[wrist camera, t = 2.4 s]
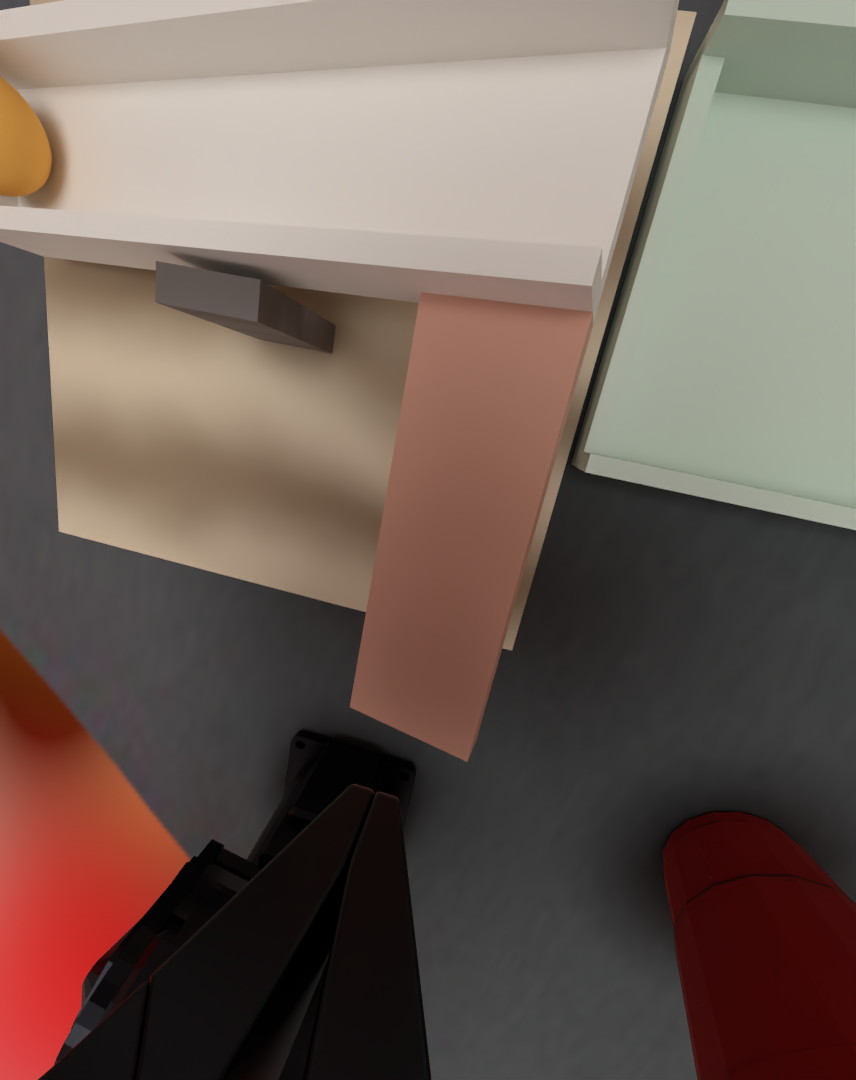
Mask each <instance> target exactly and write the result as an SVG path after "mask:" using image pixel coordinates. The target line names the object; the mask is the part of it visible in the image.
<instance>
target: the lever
mask: <svg viewBox="0 0 856 1080" xmlns="http://www.w3.org/2000/svg"><path fill="white" fill-rule="evenodd" d="M678 5H679V0H62V1H56V2H50V3H44V4H37V5H31V6H25V7H19V8H12V9H6V10H0V76H1V77H2V78H3V79H4V80H6V81H7V82H8V83H9V84H10V85H11V86H12V87H13V88H14V89H16V90H17V91H18V92H19V94H20V95H21V96H22V97H23V98H24V99H25V100H26V102H27V103H28V104H29V105H30V107H31V108H32V109H33V111H34V112H35V114H36V115H37V117H38V119H39V120H40V122H41V124H42V126H43V128H44V130H45V132H46V135H47V137H48V141H49V144H50V148H51V154H52V166H51V172H50V175H49V177H48V179H47V181H46V182H45V184H44V185H43V186H42V187H41V188H40V189H39V190H37V191H36V192H33V193H31V194H29V195H24V196H3V195H0V242H3V243H6V244H9V245H11V246H14V247H17V248H20V249H23V250H26V251H29V252H32V253H35V254H38V255H41V256H44V257H51V258H59V259H67V260H75V261H83V262H91V263H100V264H108V265H116V266H124V267H132V268H140V269H148V270H156V261H160V262H165V263H171V264H176V265H182V266H187V267H193V268H198V269H204V270H209V271H215V272H220V273H226V274H231V275H237V276H243V277H248V278H254V279H259V280H262V281H263V282H265V283H267V284H270V285H278V286H286V287H294V288H302V289H310V290H319V291H327V292H335V293H343V294H351V295H359V296H367V297H375V298H383V299H392V300H400V301H408V302H416V303H419V307H418V312H417V318H416V324H415V330H414V336H413V342H412V347H411V353H410V359H409V365H408V371H407V376H406V382H405V388H404V394H403V400H402V406H401V411H400V417H399V423H398V429H397V435H396V441H395V446H394V452H393V458H392V464H391V470H390V476H389V481H388V487H387V493H386V499H385V505H384V510H383V516H382V522H381V528H380V534H379V540H378V545H377V551H376V557H375V563H374V569H373V575H372V580H371V586H370V592H369V598H368V604H367V609H366V615H365V621H364V627H363V633H362V639H361V644H360V650H359V656H358V662H357V668H356V674H355V679H354V685H353V691H352V697H351V703H350V707H351V708H353V709H355V710H357V711H359V712H361V713H363V714H366V715H368V716H370V717H372V718H374V719H376V720H378V721H381V722H383V723H385V724H387V725H389V726H391V727H393V728H396V729H398V730H400V731H402V732H404V733H406V734H408V735H411V736H413V737H415V738H417V739H419V740H421V741H423V742H426V743H428V744H430V745H432V746H434V747H436V748H438V749H441V750H443V751H445V752H447V753H449V754H451V755H453V756H456V757H458V758H460V759H462V760H464V761H466V762H468V759H469V757H470V754H471V752H472V750H473V747H474V745H475V742H476V740H477V736H478V733H479V729H480V725H481V722H482V718H483V715H484V711H485V708H486V704H487V701H488V697H489V693H490V690H491V686H492V683H493V679H494V676H495V672H496V669H497V665H498V661H499V658H500V654H501V651H502V647H503V644H504V640H505V637H506V633H507V629H508V626H509V622H510V619H511V615H512V612H513V608H514V605H515V601H516V597H517V594H518V590H519V587H520V583H521V580H522V576H523V573H524V569H525V565H526V562H527V558H528V555H529V551H530V548H531V544H532V541H533V537H534V533H535V530H536V526H537V523H538V519H539V516H540V512H541V509H542V505H543V501H544V498H545V494H546V491H547V487H548V484H549V480H550V477H551V473H552V469H553V466H554V462H555V459H556V455H557V452H558V448H559V445H560V441H561V437H562V434H563V430H564V427H565V423H566V420H567V416H568V413H569V409H570V405H571V402H572V398H573V395H574V391H575V388H576V384H577V381H578V377H579V373H580V370H581V366H582V363H583V359H584V356H585V352H586V349H587V345H588V341H589V338H590V334H591V331H592V327H593V324H594V320H595V317H596V313H597V309H598V306H599V302H600V299H601V295H602V292H603V288H604V285H605V281H606V277H607V274H608V270H609V267H610V263H611V260H612V256H613V253H614V249H615V245H616V242H617V238H618V235H619V231H620V228H621V224H622V221H623V217H624V213H625V210H626V206H627V203H628V199H629V196H630V192H631V189H632V185H633V181H634V178H635V174H636V171H637V167H638V164H639V160H640V157H641V153H642V149H643V146H644V142H645V139H646V135H647V132H648V128H649V125H650V121H651V117H652V114H653V110H654V107H655V103H656V100H657V96H658V93H659V89H660V85H661V82H662V78H663V75H664V71H665V68H666V64H667V61H668V57H669V53H670V49H671V43H672V38H673V32H674V27H675V21H676V16H677V10H678Z"/></svg>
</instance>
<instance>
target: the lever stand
mask: <svg viewBox="0 0 856 1080" xmlns="http://www.w3.org/2000/svg"><path fill="white" fill-rule="evenodd" d="M56 1H62V0H30V6H31V5H37V4H44V3H50V2H56ZM696 13H697V12H690V11H680V10H677V16H676V21H675V27H674V32H673V38H672V43H671V49H670V53H669V57H668V61H667V64H666V68H665V71H664V75H663V78H662V82H661V85H660V89H659V93H658V96H657V100H656V103H655V107H654V110H653V114H652V117H651V121H650V125H649V128H648V132H647V135H646V139H645V142H644V146H643V149H642V153H641V157H640V160H639V164H638V167H637V171H636V174H635V178H634V181H633V185H632V189H631V192H630V196H629V199H628V203H627V206H626V210H625V213H624V217H623V221H622V224H621V228H620V231H619V235H618V238H617V242H616V245H615V249H614V253H613V256H612V260H611V263H610V267H609V270H608V274H607V277H606V281H605V285H604V288H603V292H602V295H601V299H600V302H599V306H598V309H597V313H596V317H595V320H594V324H593V327H592V331H591V334H590V338H589V341H588V345H587V349H586V352H585V356H584V359H583V363H582V366H581V370H580V373H579V377H578V381H577V384H576V388H575V391H574V395H573V398H572V402H571V405H570V409H569V413H568V416H567V420H566V423H565V427H564V430H563V434H562V437H561V441H560V445H559V448H558V452H557V455H556V459H555V462H554V466H553V469H552V473H551V477H550V480H549V484H548V487H547V491H546V494H545V498H544V501H543V505H542V509H541V512H540V516H539V519H538V523H537V526H536V530H535V533H534V537H533V541H532V544H531V548H530V551H529V555H528V558H527V562H526V565H525V569H524V573H523V576H522V580H521V583H520V587H519V590H518V594H517V597H516V601H515V605H514V608H513V612H512V615H511V619H510V622H509V626H508V629H507V633H506V637H505V640H504V644H503V647H502V648H503V649H507V650H511V651H512V649H513V646H514V642H515V639H516V635H517V632H518V628H519V625H520V621H521V618H522V614H523V611H524V608H525V604H526V601H527V597H528V594H529V590H530V587H531V583H532V580H533V576H534V573H535V569H536V566H537V563H538V559H539V556H540V552H541V549H542V545H543V542H544V538H545V535H546V531H547V528H548V525H549V521H550V518H551V514H552V511H553V507H554V504H555V500H556V497H557V493H558V490H559V487H560V483H561V480H562V476H563V473H564V469H565V466H566V462H567V459H568V455H569V452H570V449H571V445H572V442H573V438H574V435H575V431H576V428H577V424H578V421H579V417H580V414H581V411H582V407H583V404H584V400H585V397H586V393H587V390H588V386H589V383H590V379H591V376H592V373H593V369H594V366H595V362H596V359H597V355H598V352H599V348H600V345H601V341H602V338H603V334H604V331H605V328H606V324H607V321H608V317H609V314H610V310H611V307H612V303H613V300H614V296H615V293H616V290H617V286H618V283H619V279H620V276H621V272H622V269H623V265H624V262H625V258H626V255H627V252H628V248H629V245H630V241H631V238H632V234H633V231H634V227H635V224H636V220H637V217H638V214H639V210H640V207H641V203H642V200H643V196H644V193H645V189H646V186H647V182H648V179H649V176H650V172H651V169H652V165H653V162H654V158H655V155H656V151H657V148H658V144H659V141H660V138H661V134H662V131H663V127H664V124H665V120H666V117H667V113H668V110H669V106H670V103H671V99H672V96H673V93H674V89H675V86H676V82H677V79H678V75H679V72H680V68H681V65H682V61H683V58H684V55H685V51H686V48H687V44H688V41H689V37H690V34H691V30H692V27H693V23H694V20H695V17H696ZM44 266H45V284H46V302H47V321H48V339H49V357H50V375H51V393H52V412H53V430H54V448H55V466H56V484H57V502H58V521H59V532H63V533H67V534H71V535H74V536H78V537H82V538H86V539H90V540H93V541H97V542H101V543H105V544H108V545H112V546H116V547H120V548H124V549H127V550H131V551H135V552H139V553H143V554H146V555H150V556H154V557H158V558H162V559H165V560H169V561H173V562H177V563H181V564H184V565H188V566H192V567H196V568H200V569H203V570H207V571H211V572H215V573H219V574H222V575H226V576H230V577H234V578H238V579H241V580H245V581H249V582H253V583H256V584H260V585H264V586H268V587H272V588H275V589H279V590H283V591H287V592H291V593H294V594H298V595H302V596H306V597H310V598H313V599H317V600H321V601H325V602H329V603H332V604H336V605H340V606H344V607H348V608H351V609H355V610H359V611H363V612H366V609H367V604H368V598H369V592H370V586H371V580H372V575H373V569H374V563H375V557H376V551H377V545H378V540H379V534H380V528H381V522H382V516H383V510H384V505H385V499H386V493H387V487H388V481H389V476H390V470H391V464H392V458H393V452H394V446H395V441H396V435H397V429H398V423H399V417H400V411H401V406H402V400H403V394H404V388H405V382H406V376H407V371H408V365H409V359H410V353H411V347H412V342H413V336H414V330H415V324H416V318H417V312H418V307H419V303H416V302H408V301H400V300H392V299H383V298H375V297H367V296H359V295H351V294H343V293H335V292H327V291H319V290H310V289H302V288H294V287H286V286H278V285H270V284H267V283H265V282H263V281H262V280H259V279H254V278H248V277H243V276H237V275H231V274H226V273H220V272H215V271H209V270H204V269H198V268H193V267H187V266H182V265H176V264H171V263H165V262H160V261H156V270H148V269H140V268H132V267H124V266H116V265H108V264H100V263H91V262H83V261H75V260H67V259H59V258H51V257H44Z"/></svg>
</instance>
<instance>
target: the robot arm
mask: <svg viewBox="0 0 856 1080" xmlns="http://www.w3.org/2000/svg"><path fill="white" fill-rule="evenodd" d="M301 741H302V742H304V743H302V742H301ZM403 772H406V773H408V775H407V774H404V773H403ZM415 776H416V769H415V767H414V766H413V765H412V764H410V763H408V762H405V761H402V760H399V759H395V758H392V757H389V756H385V755H382V754H378V753H375V752H372V751H368V750H365V749H362V748H358V747H355V746H352V745H348V744H345V743H342V742H338V741H335V740H332V739H328V738H325V737H322V736H318V735H315V734H312V733H308V732H305V731H299V732H297V733H296V734H295V736H294V737H293V739H292V741H291V747H290V754H289V762H288V770H287V778H286V786H285V793H284V797H283V799H282V800H281V802H280V804H279V805H278V807H277V809H276V811H275V812H274V814H273V816H272V817H271V819H270V821H269V822H268V824H267V826H266V827H265V829H264V831H263V833H262V834H261V836H260V838H259V839H258V841H257V843H256V844H255V846H254V848H253V849H252V851H251V853H250V855H249V856H248V858H247V860H246V859H244V858H242V857H240V856H238V855H236V854H234V853H232V852H230V851H228V850H226V849H224V845H223V844H221V843H219V842H217V841H215V840H213V839H212V840H211V841H210V842H209V844H208V845H207V846H206V847H205V849H204V850H203V851H202V852H201V853H200V855H199V856H198V857H196V856H194V857H193V858H192V859H191V860H190V861H189V862H186V864H185V865H184V866H183V868H182V869H181V870H180V872H179V873H178V875H177V876H176V877H175V879H174V880H173V881H172V883H171V884H170V885H169V887H168V888H167V889H166V890H165V891H164V892H163V894H162V895H161V896H160V897H159V898H158V900H157V901H156V902H155V903H154V905H153V906H152V907H151V908H150V909H149V911H147V913H146V914H145V915H144V916H143V917H142V918H141V919H140V920H139V921H138V922H137V923H136V924H135V925H134V926H133V927H132V928H131V929H130V930H129V931H128V932H127V933H126V934H125V935H124V936H123V937H122V938H121V939H120V940H119V941H118V942H117V943H115V945H113V946H112V947H111V948H110V949H109V950H108V951H107V952H106V953H105V954H104V955H103V956H102V957H101V958H100V959H99V960H98V961H97V962H96V964H95V965H94V966H93V967H92V969H91V970H90V972H89V973H88V975H87V976H86V978H85V980H84V982H83V985H82V1005H81V1010H80V1012H79V1013H78V1015H77V1017H76V1019H75V1021H74V1024H73V1026H72V1028H71V1031H70V1033H69V1035H68V1037H67V1039H66V1040H65V1042H64V1044H63V1046H62V1048H61V1050H60V1052H59V1055H58V1057H57V1059H56V1061H55V1064H54V1066H53V1067H52V1068H51V1069H50V1070H48V1071H47V1072H46V1073H45V1074H44V1075H43V1076H42V1077H40V1078H39V1079H38V1080H431V1072H430V1064H429V1055H428V1046H427V1037H426V1028H425V1020H424V1011H423V1002H422V993H421V984H420V976H419V967H418V958H417V949H416V940H415V932H414V923H413V914H412V905H411V896H410V888H409V879H408V870H407V861H406V852H405V843H404V835H403V826H404V822H405V818H406V813H407V809H408V805H409V801H410V797H411V792H412V788H413V784H414V780H415Z"/></svg>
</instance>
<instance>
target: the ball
mask: <svg viewBox="0 0 856 1080" xmlns="http://www.w3.org/2000/svg"><path fill="white" fill-rule="evenodd" d="M51 166H52V154H51V148H50V144H49V141H48V137H47V135H46V132H45V130H44V128H43V126H42V124H41V122H40V120H39V119H38V117H37V115H36V114H35V112H34V111H33V109H32V108H31V107H30V105H29V104H28V103H27V102H26V100H25V99H24V98H23V97H22V96H21V95H20V94H19V92H18V91H17V90H16V89H14V88H13V87H12V86H11V85H10V84H9V83H8V82H7V81H6V80H4V79H3V78H2V77H1V76H0V195H3V196H24V195H29V194H31V193H33V192H36V191H37V190H39V189H40V188H41V187H42V186H43V185H44V184H45V182H46V181H47V179H48V177H49V175H50V172H51Z"/></svg>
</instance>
